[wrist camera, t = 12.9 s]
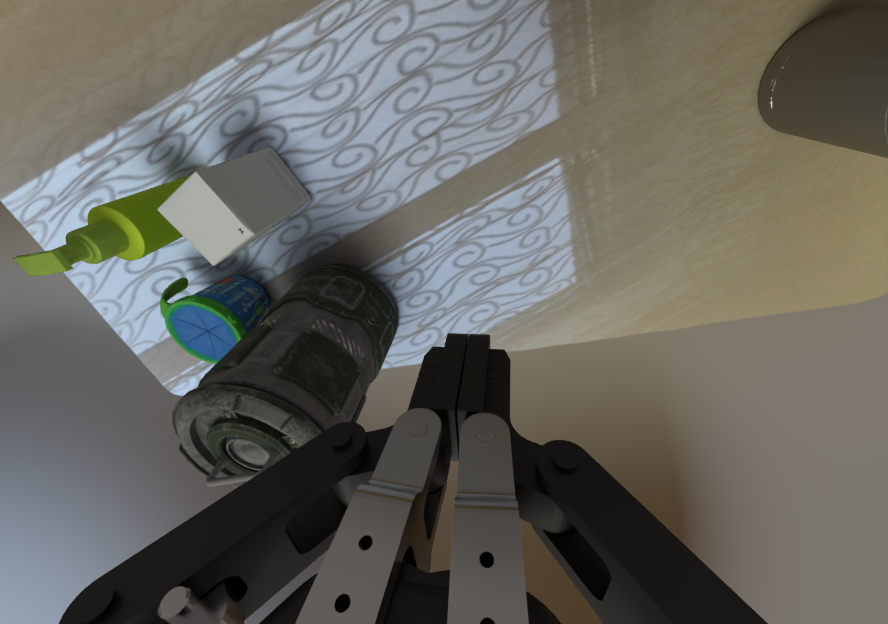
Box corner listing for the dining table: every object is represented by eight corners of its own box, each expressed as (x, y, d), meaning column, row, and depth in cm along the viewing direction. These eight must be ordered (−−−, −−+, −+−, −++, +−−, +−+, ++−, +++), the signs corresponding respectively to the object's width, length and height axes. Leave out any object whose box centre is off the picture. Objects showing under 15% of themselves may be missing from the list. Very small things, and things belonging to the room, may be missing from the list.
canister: (337, 360, 61) (232, 535, 38) (277, 282, 54) (104, 440, 31) (419, 334, 56) (352, 523, 33) (363, 244, 49) (228, 403, 26)
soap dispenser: (167, 180, 48) (-14, 238, 31) (210, 170, 46) (43, 227, 30) (192, 223, 51) (39, 297, 34) (233, 215, 49) (94, 290, 33)
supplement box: (271, 144, 43) (195, 168, 33) (314, 198, 46) (256, 236, 36) (234, 176, 46) (153, 208, 36) (276, 226, 49) (212, 268, 39)
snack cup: (306, 303, 56) (270, 344, 47) (281, 342, 61) (244, 386, 53) (210, 240, 52) (152, 273, 44) (192, 288, 57) (138, 325, 49)
